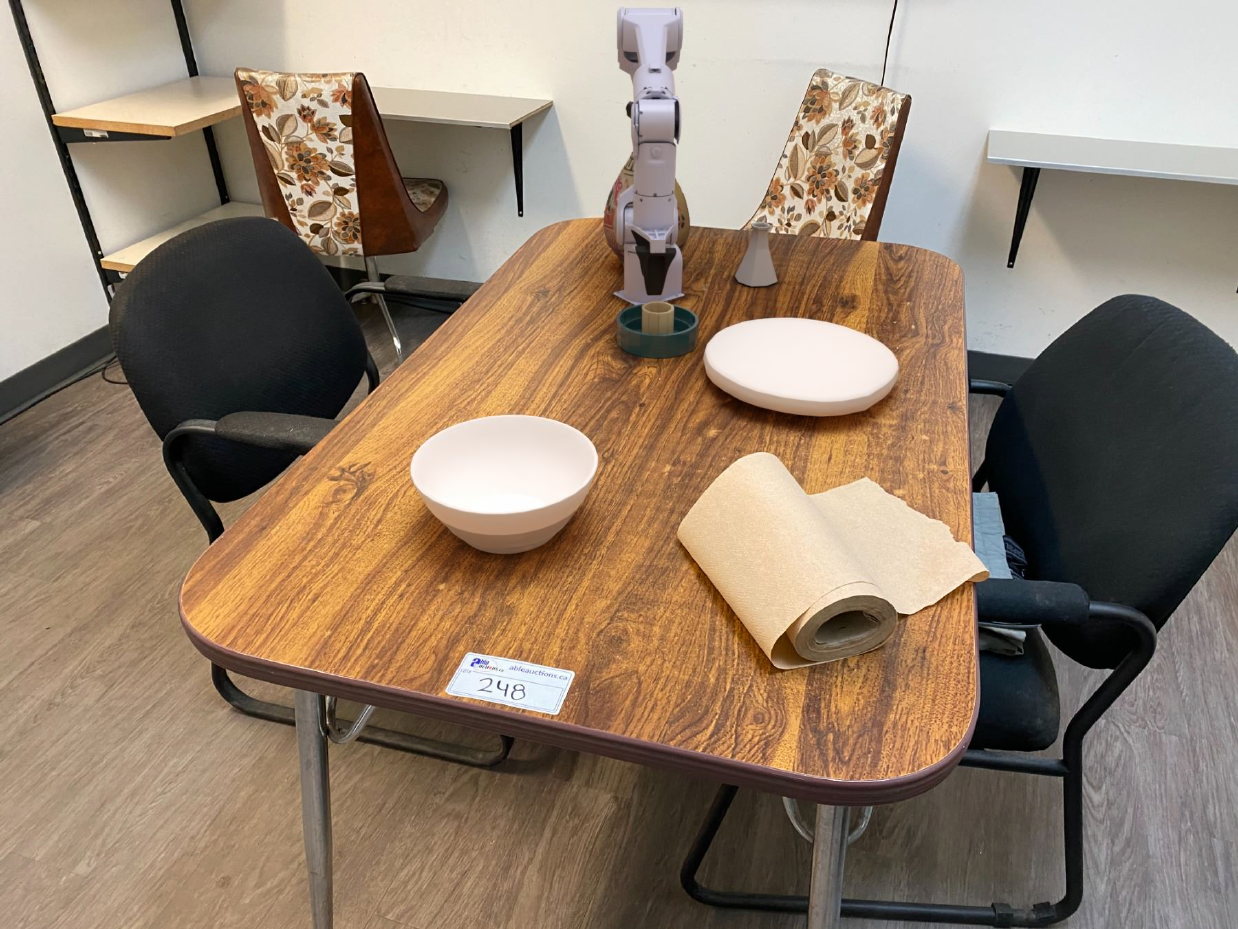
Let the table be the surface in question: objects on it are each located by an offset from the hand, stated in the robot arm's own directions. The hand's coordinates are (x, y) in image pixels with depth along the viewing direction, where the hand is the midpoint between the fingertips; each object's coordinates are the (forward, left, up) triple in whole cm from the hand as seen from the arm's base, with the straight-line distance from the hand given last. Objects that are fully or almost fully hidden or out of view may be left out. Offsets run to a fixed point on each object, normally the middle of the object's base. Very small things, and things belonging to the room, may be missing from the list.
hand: (651, 284), depth 133 cm
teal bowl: (-1, +1, -10) cm, 10 cm away
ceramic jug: (-20, -26, -10) cm, 34 cm away
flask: (-32, -10, -10) cm, 35 cm away
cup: (-1, +1, -9) cm, 9 cm away
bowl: (+41, +27, -10) cm, 50 cm away
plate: (-9, +22, -10) cm, 26 cm away
